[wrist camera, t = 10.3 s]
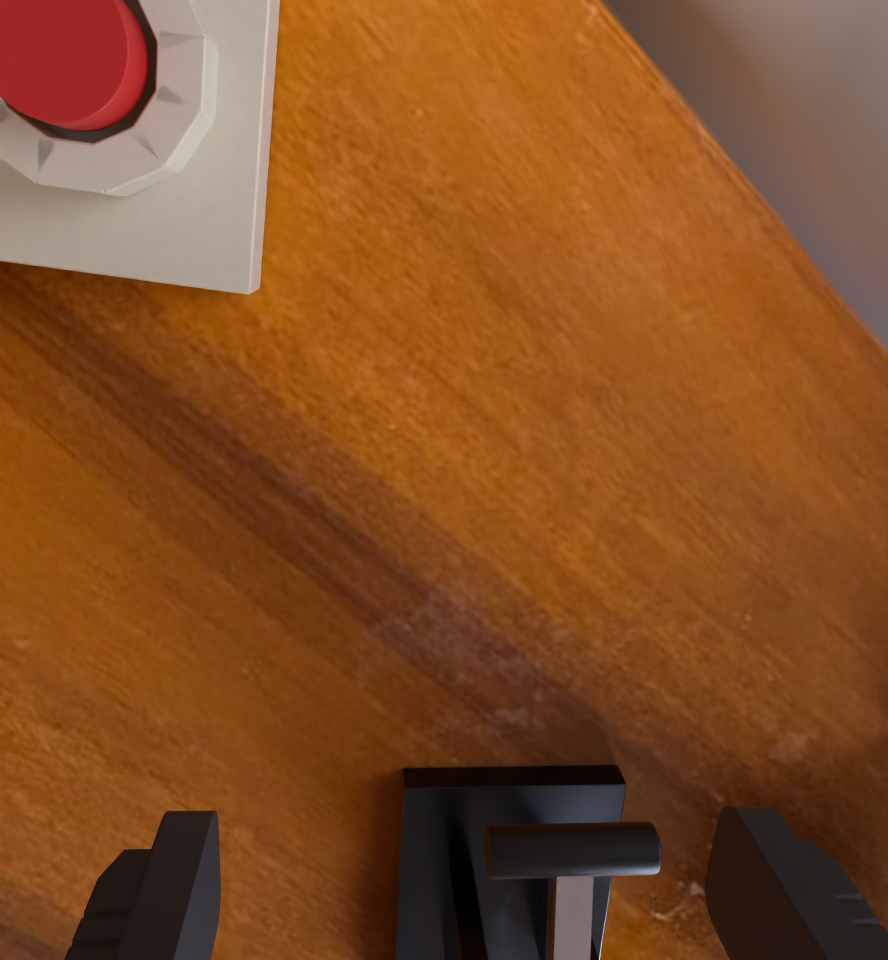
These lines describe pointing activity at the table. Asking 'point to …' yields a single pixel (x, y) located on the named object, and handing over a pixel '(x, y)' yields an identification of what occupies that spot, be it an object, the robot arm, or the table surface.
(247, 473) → the table surface
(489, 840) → the lever
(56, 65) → the button
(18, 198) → the button box
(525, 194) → the table surface
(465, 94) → the table surface
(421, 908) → the bracket
